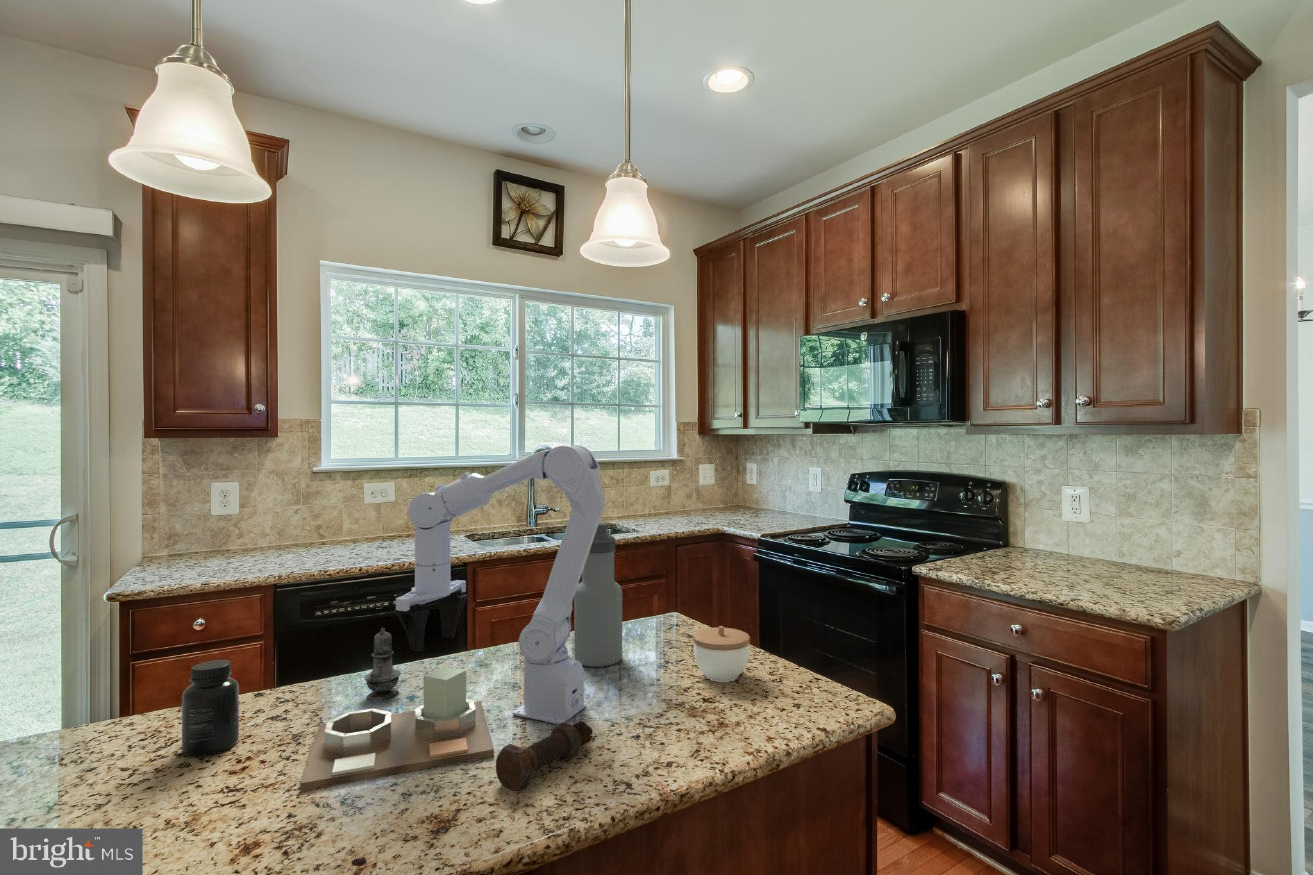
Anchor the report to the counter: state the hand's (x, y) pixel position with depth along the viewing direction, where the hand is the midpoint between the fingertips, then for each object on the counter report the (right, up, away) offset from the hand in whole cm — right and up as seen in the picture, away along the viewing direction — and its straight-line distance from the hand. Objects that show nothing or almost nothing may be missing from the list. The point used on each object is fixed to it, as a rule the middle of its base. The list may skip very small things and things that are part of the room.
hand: (433, 643), depth 107 cm
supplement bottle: (-27, -11, -15) cm, 33 cm away
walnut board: (0, -10, -14) cm, 17 cm away
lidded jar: (+50, -11, +12) cm, 53 cm away
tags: (+3, -9, -20) cm, 22 cm away
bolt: (+23, -11, -20) cm, 33 cm away
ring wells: (0, -9, -12) cm, 16 cm away
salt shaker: (-10, -11, +4) cm, 15 cm away
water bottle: (+26, -11, +22) cm, 36 cm away
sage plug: (+5, -9, -10) cm, 15 cm away
